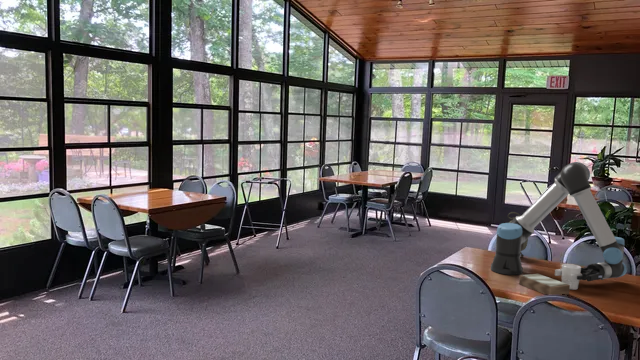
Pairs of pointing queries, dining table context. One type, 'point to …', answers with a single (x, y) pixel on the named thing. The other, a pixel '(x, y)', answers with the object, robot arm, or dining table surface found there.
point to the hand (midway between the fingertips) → (563, 275)
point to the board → (544, 284)
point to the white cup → (570, 270)
